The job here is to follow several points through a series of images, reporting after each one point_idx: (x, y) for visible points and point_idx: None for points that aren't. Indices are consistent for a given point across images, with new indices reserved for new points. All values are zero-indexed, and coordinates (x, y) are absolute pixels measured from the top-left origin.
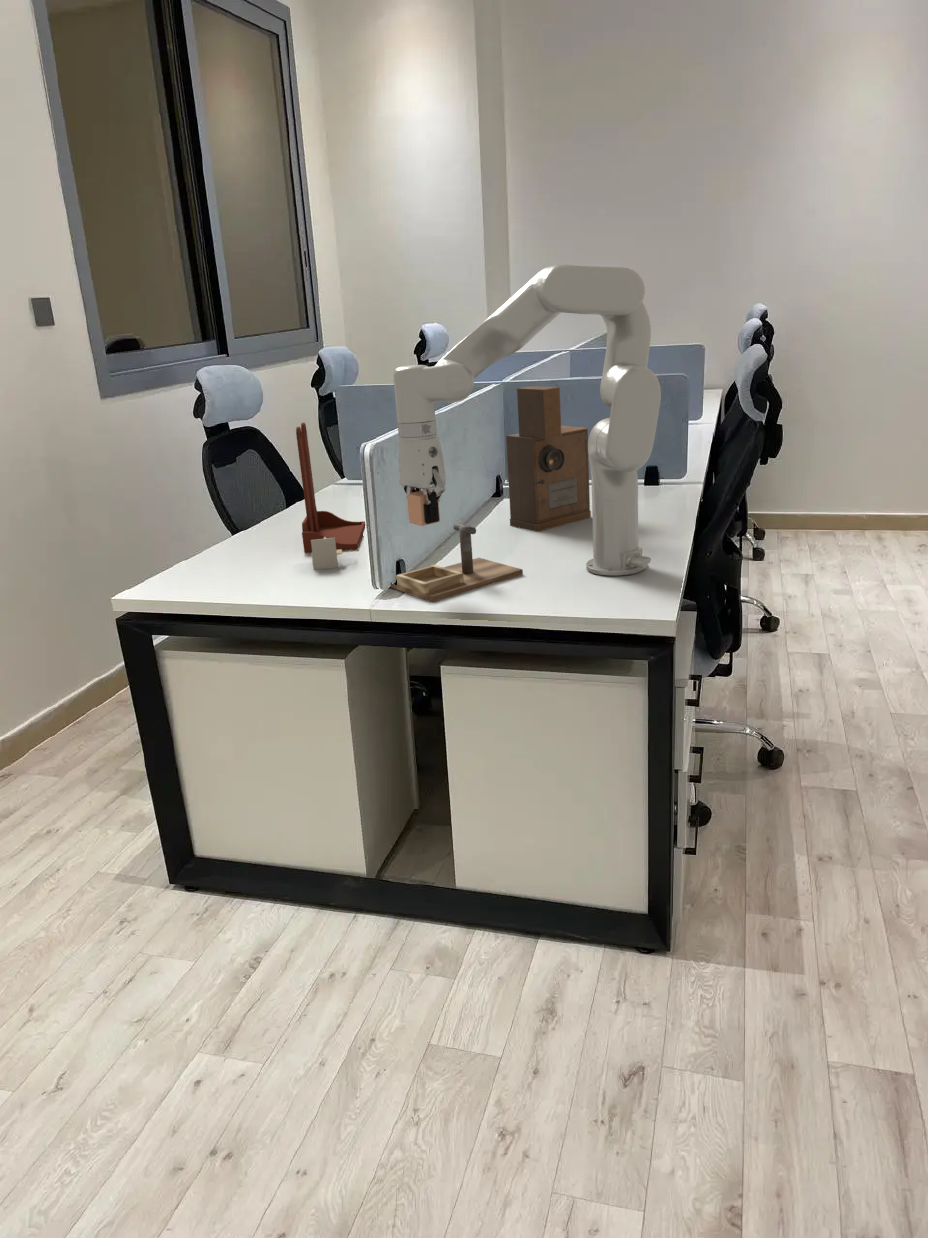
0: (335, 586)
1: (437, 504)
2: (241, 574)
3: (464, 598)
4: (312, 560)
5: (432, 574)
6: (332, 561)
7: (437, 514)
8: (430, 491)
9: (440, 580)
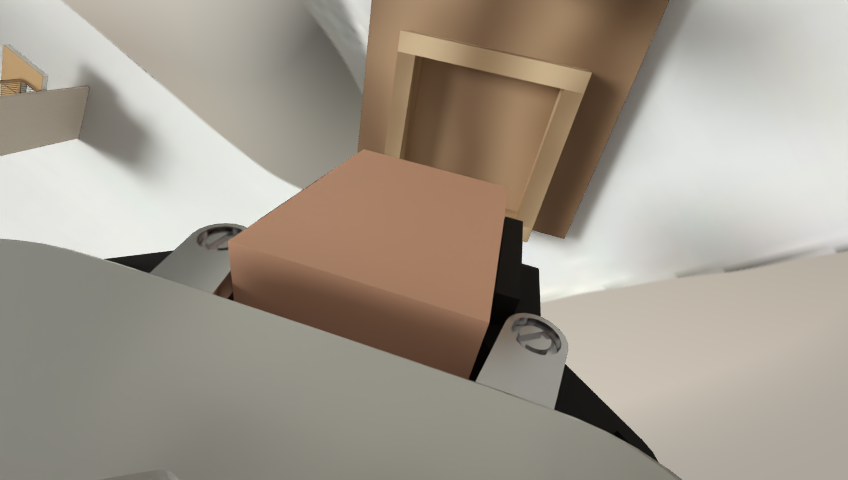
0: (243, 223)
1: (518, 289)
2: (35, 235)
3: (648, 164)
4: (49, 143)
5: (421, 62)
6: (68, 101)
7: (537, 276)
8: (355, 292)
9: (549, 180)
